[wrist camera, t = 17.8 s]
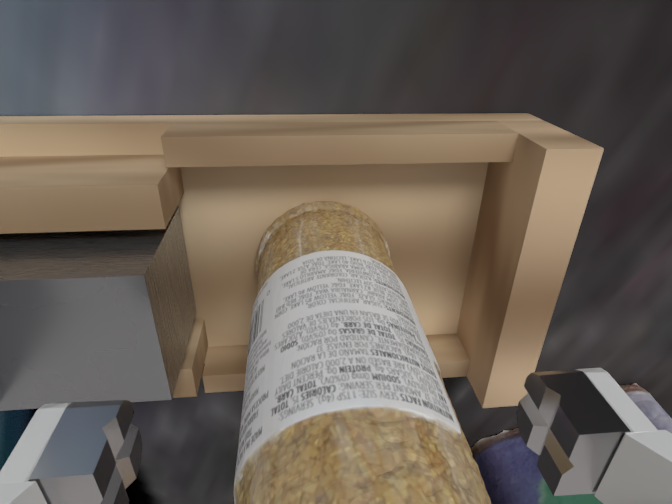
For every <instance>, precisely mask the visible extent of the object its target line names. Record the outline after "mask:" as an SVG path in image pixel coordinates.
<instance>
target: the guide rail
mask: <svg viewBox="0 0 672 504" xmlns="http://www.w3.org/2000/svg"><path fill="white" fill-rule="evenodd" d="M603 151H604V148H602V147H600V146H598V145H596V144H593V143H591V142H589V141H587V140H585V139H583V138H580V137H578V136H576V135H574V134H572V133H570V132H567V131H565V130H563V129H561V128H559V127H557V126H554V125H552V124H550V123H548V122H546V121H544V120H542V119H539V118H537V117H535V116H533V115H531V114H529V113H487V114H306V115H125V116H0V234H10V233H44V232H78V231H112V230H147V229H166V227H167V225H168V223H169V221H170V219H171V218H172V216H173V214H174V212H175V210H176V208H177V206H179V210H180V216H181V222H182V228H183V234H184V240H185V246H186V252H187V258H188V264H189V270H190V276H191V282H192V288H193V294H194V300H195V306H196V315H195V319H194V322H193V326H192V330H191V333H190V337H189V340H188V344H187V347H186V351H185V355H184V358H183V362H182V365H181V369H180V372H179V376H178V380H177V383H176V387H175V390H174V394H173V398H180V397H196V396H197V394H198V389H199V385H200V380H201V376H202V378H203V384H204V389H205V393H213V392H229V391H244V386H245V375H246V364H247V354H248V344H249V335H250V326H251V317H252V309H253V305H254V302H255V300H256V297H257V289H258V275H257V273H256V264H255V263H256V257H257V250H258V247H259V245H260V241H261V238H262V236H263V234H264V233H265V232H266V230H267V229H268V227H269V226H270V225H271V224H272V223H273V222H274V221H275V220H276V219H277V218H278V217H280V216H281V215H283V214H284V213H285V212H287V211H288V210H290V209H292V208H294V207H297V206H299V205H301V204H302V203H311V202H315V201H332V202H339V203H342V204H345V205H350V206H354V207H357V208H358V209H359V210H361V211H362V212H363V213H365V214H366V215H368V216H369V217H370V218H371V219H372V220H373V221H374V222H375V223H376V224H377V225H378V226H379V228H380V230H381V231H382V232H383V234H384V236H385V239H386V241H387V243H388V245H389V250H390V259H391V261H392V264H393V267H394V269H395V272H396V274H397V275H398V277H399V279H400V280H401V282H402V283H403V285H404V287H405V288H406V290H407V293H408V295H409V297H410V299H411V302H412V304H413V306H414V309H415V311H416V314H417V316H418V318H419V321H420V323H421V326H422V328H423V330H424V333H425V335H426V337H427V340H428V342H429V344H430V347H431V349H432V351H433V353H434V356H435V358H436V361H437V363H438V366H439V368H440V372H441V378H448V377H464V376H467V378H468V380H469V382H470V384H471V386H472V388H473V390H474V392H475V394H476V396H477V398H478V400H479V402H480V404H481V406H482V408H491V407H505V406H518V403H519V401H520V400H521V399H522V398H523V397H524V396H525V395H526V394H528V392H527V390H526V389H525V387H524V384H525V381H526V378H527V376H528V375H529V374H530V373H533V372H535V369H536V366H537V362H538V359H539V356H540V353H541V350H542V346H543V343H544V340H545V337H546V334H547V330H548V327H549V324H550V321H551V318H552V314H553V311H554V308H555V305H556V301H557V298H558V295H559V292H560V289H561V285H562V282H563V279H564V276H565V273H566V269H567V266H568V263H569V260H570V257H571V253H572V250H573V247H574V244H575V240H576V237H577V234H578V231H579V228H580V224H581V221H582V218H583V215H584V212H585V208H586V205H587V202H588V199H589V196H590V192H591V189H592V186H593V183H594V179H595V176H596V173H597V170H598V167H599V163H600V160H601V157H602V154H603ZM204 363H205V366H204ZM203 366H204V370H203ZM202 371H203V375H202Z"/></svg>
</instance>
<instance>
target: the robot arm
mask: <svg viewBox="0 0 672 504" xmlns="http://www.w3.org/2000/svg"><path fill="white" fill-rule="evenodd" d="M524 387H525V389H526V390H527V392H528V394H526V395H525V396H524V397H523V398H522V399H521V400H520V401H519V403H518V407H517V411H516V415H517V425H518V429H519V432H520V435H521V437H522V439H523V441H524V443H525V445H526V446H527V447H528V448H530V449H531V450H532V451H534V452H535V453H536V454H538V455H539V456H538V461H537V467H538V469H539V471H540V472H541V474H542V476H543V478H544V480H545V482H546V483H547V485H548V487H549V489H550V491H551V492H552V494H553V496H562V495H578V494H593V493H595V495H594V496H595V497H596V498H597V499H598V500H600V501H601V502H602V503H603V504H672V433H670V432H668V431H667V430H657V428H656V427H655V426H654V425H653V424H652V423H651V422H650V420H649V419H648V418H647V417H646V416H645V415H644V413H643V412H642V411H641V410H640V409H639V408H638V407H637V405H636V404H635V403H634V402H633V401H632V400H631V399H630V397H629V396H628V395H627V394H626V393H625V392H624V390H623V389H622V388H621V387H620V386H619V385H618V384H617V382H616V381H615V380H614V379H613V378H612V377H611V375H610V374H609V373H608V372H607V371H605V370H604V369H602V368H587V369H576V370H574V369H571V370H559V371H546V372H533V373H530V374H529V375H528V376H527V378H526V381H525V384H524ZM133 414H134V411H133V408H132V405H131V403H130V401H128V400H111V401H87V402H72V403H50V404H44V405H43V406H41V407H40V408H39V409H38V410H37V411H36V412H35V414H34V416H33V417H32V419H31V421H30V422H29V424H28V426H27V427H26V429H25V431H24V432H23V434H22V436H21V437H20V439H19V441H18V442H17V444H16V446H15V447H14V449H13V451H12V452H11V454H10V456H9V457H8V459H7V461H6V462H5V464H4V466H3V467H2V469H1V471H0V504H129V498H128V495H127V493H126V490H125V489H126V488H127V487H128V486H129V485H130V484H131V483H132V482H133V481H134V480H135V479H136V477H137V474H138V470H139V467H140V462H141V453H142V442H141V435H140V431H139V428H138V427H136V426H135V425H133V424H132V423H131V420H132V417H133Z"/></svg>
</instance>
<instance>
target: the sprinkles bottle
mask: <svg viewBox="0 0 672 504" xmlns="http://www.w3.org/2000/svg"><path fill="white" fill-rule="evenodd" d="M255 264H256V273H257V275H258V289H257V297H256V300H255V302H254V305H253V309H252V317H251V326H250V335H249V344H248V354H247V364H246V375H245V386H244V396H243V407H242V416H241V426H240V435H239V444H238V453H237V462H236V471H235V480H234V502H235V504H491V500H490V498H489V495H488V493H487V491H486V488H485V485H484V481H483V479H482V477H481V474H480V471H479V468H478V465H477V463H476V462H475V460H474V459H473V457H472V452H471V449H470V446H469V445H468V443H467V440H466V438H465V436H464V433H463V432H462V430H461V426H460V423H459V421H458V419H457V416H456V413H455V410H454V408H453V406H452V404H451V401H450V398H449V396H448V394H447V391H446V389H445V386H444V382H443V380H442V378H441V372H440V368H439V366H438V363H437V361H436V358H435V356H434V353H433V351H432V349H431V347H430V344H429V342H428V340H427V337H426V335H425V333H424V330H423V328H422V326H421V323H420V321H419V318H418V316H417V314H416V311H415V309H414V306H413V304H412V302H411V299H410V297H409V295H408V293H407V290H406V288H405V287H404V285H403V283H402V282H401V280H400V279H399V277H398V275H397V274H396V272H395V269H394V267H393V264H392V261H391V259H390V250H389V245H388V243H387V241H386V239H385V236H384V234H383V232H382V231H381V230H380V228H379V226H378V225H377V224H376V223H375V222H374V221H373V220H372V219H371V218H370V217H369V216H368V215H366V214H365V213H363V212H362V211H361V210H359V209H358V208H357V207H354V206H350V205H345V204H342V203H339V202H332V201H315V202H311V203H302V204H301V205H299V206H297V207H294V208H292V209H290V210H288V211H287V212H285V213H284V214H283V215H281V216H280V217H278V218H277V219H276V220H275V221H274V222H273V223H272V224H271V225H270V226H269V227H268V229H267V230H266V232H265V233H264V234H263V236H262V238H261V241H260V245H259V247H258V250H257V257H256V263H255Z"/></svg>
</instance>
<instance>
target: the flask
mask: <svg viewBox="0 0 672 504" xmlns="http://www.w3.org/2000/svg"><path fill="white" fill-rule="evenodd" d="M619 386H620V385H619ZM620 387H621V388H622V389H623V390H624V392H625V393H626V394H627V395H628V396H629V397H630V399H631V400H632V401H633V402H634V403H635V404H636V405H637V407H638V408H639V409H640V410H641V411H642V412H643V413H644V415H645V416H646V417H647V418H648V419H649V420H650V422H651V423H652V424H653V425H654V426H655V427H656V428H657V430H667V431H668V432H670V433H672V419H671V417H670V416H669V415H668V414H667V413H666V412H665V411H664V410H663V409H662V407H661V406H660V405H659V404H658V403H657V402H656V400H655V399H654V398H653V397H652V396H651V394H650V393H649V392H647V391H646V390H644V389H643V388H641V387H640V386H639V385H637V384H636V383H633V385H632V384H631V385H626V386H624V385H623V386H620ZM471 452H472V457H473V459H474V460H475V462H476V463H477V465H478V468H479V471H480V474H481V477H482V479H483V481H484V485H485V488H486V491H487V493H488V495H489V498H490V500H491V504H603V503H602V502H601V501H600V500H598V499H597V498H596V497H595V496H594V495H595V493H593V494H578V495H562V496H553V494H552V492H551V491H550V489H549V487H548V485H547V483H546V482H545V480H544V478H543V476H542V474H541V472H540V471H539V469H538V467H537V461H538V456H539V455H538V454H536V453H535V452H534V451H532V450H531V449H530V448H528V447H527V446H526V445H525V443H524V441H523V439H522V437H521V435H520V432H519V429H518V428H516V429H514V430H506V431H505V430H503V432H500V434H498V435H495V436H491V437H487V438H482V439H480V440H479V441H478V442H477V443H475V445H474V447H472V448H471Z"/></svg>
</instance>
